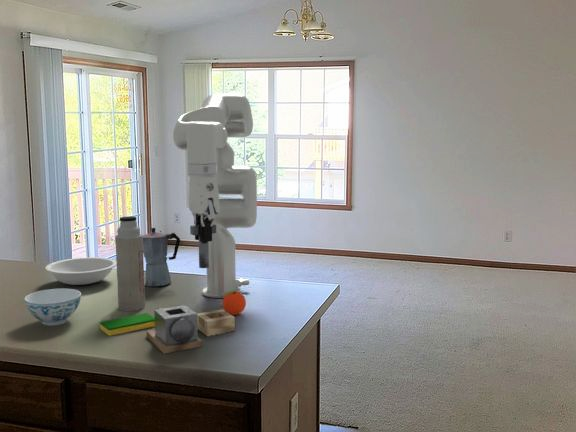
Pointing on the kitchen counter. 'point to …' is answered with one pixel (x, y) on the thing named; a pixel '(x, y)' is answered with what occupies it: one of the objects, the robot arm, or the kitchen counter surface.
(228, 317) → the wooden square frame
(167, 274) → the moka pot
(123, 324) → the dish sponge
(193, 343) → the board
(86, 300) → the kitchen counter surface
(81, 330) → the kitchen counter surface
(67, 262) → the soup bowl
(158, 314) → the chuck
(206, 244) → the chuck key
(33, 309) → the chinaware
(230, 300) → the clementine
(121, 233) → the thermos bottle
